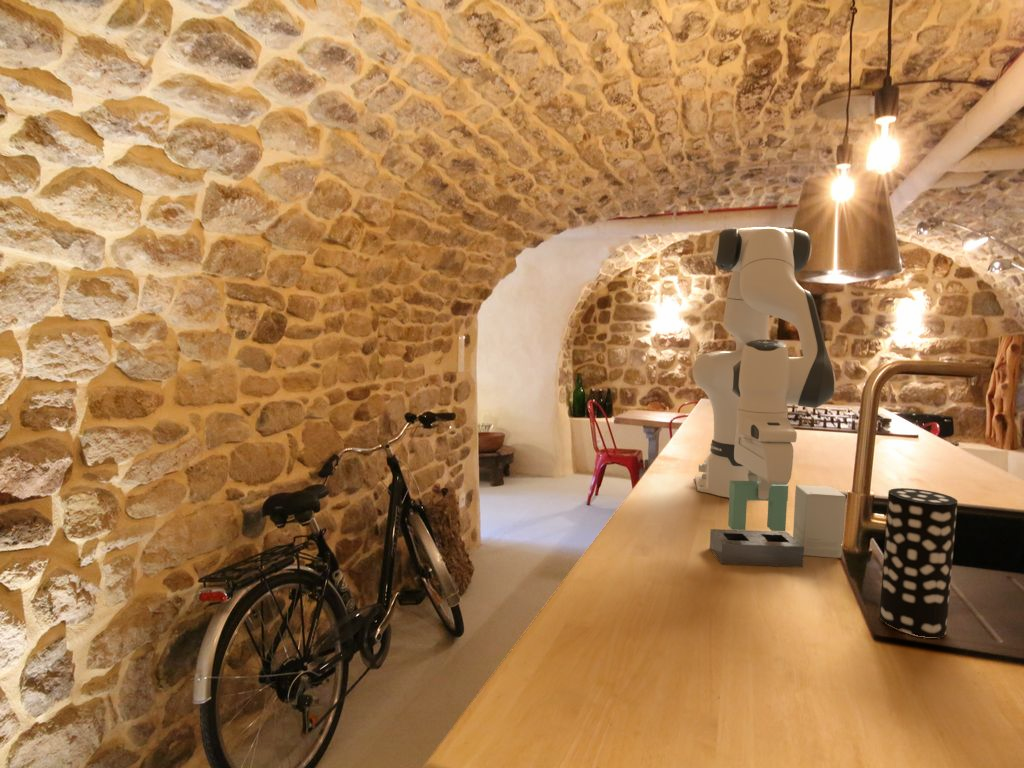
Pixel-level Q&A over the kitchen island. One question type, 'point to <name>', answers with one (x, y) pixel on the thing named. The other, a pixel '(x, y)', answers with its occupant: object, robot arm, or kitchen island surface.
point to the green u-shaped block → (747, 491)
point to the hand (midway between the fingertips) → (757, 495)
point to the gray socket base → (756, 548)
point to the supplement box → (819, 520)
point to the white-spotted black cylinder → (918, 561)
